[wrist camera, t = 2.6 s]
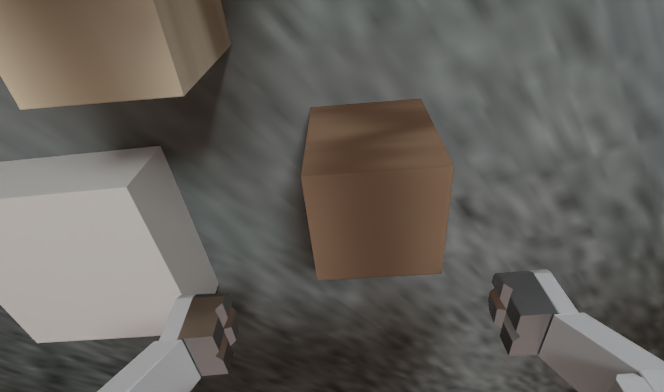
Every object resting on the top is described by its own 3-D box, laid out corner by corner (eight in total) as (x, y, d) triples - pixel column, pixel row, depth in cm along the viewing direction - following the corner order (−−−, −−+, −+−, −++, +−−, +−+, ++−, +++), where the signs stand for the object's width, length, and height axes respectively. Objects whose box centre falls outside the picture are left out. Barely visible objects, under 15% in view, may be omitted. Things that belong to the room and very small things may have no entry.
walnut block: (420, 98, 17) (454, 166, 12) (415, 189, 20) (441, 273, 15) (311, 107, 17) (300, 176, 12) (322, 195, 20) (317, 280, 15)
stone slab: (163, 142, 19) (126, 187, 16) (219, 279, 25) (201, 332, 21) (-21, 161, 20) (-94, 207, 16) (76, 289, 25) (36, 343, 22)
